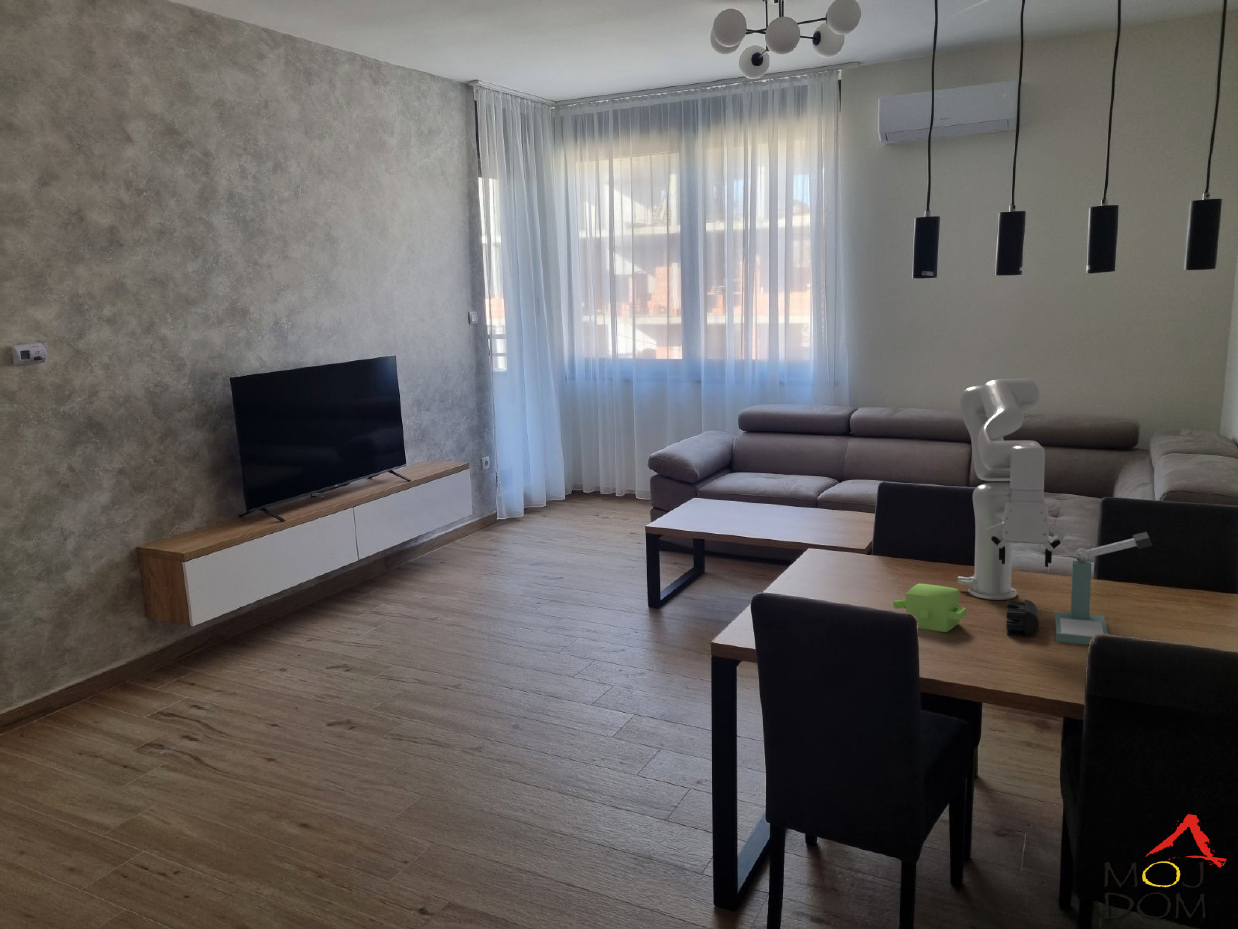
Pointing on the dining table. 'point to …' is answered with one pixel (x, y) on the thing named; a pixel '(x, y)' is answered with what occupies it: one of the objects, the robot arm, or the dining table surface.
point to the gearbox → (933, 606)
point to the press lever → (1114, 547)
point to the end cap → (1022, 618)
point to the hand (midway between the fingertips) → (1024, 564)
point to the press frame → (1079, 610)
